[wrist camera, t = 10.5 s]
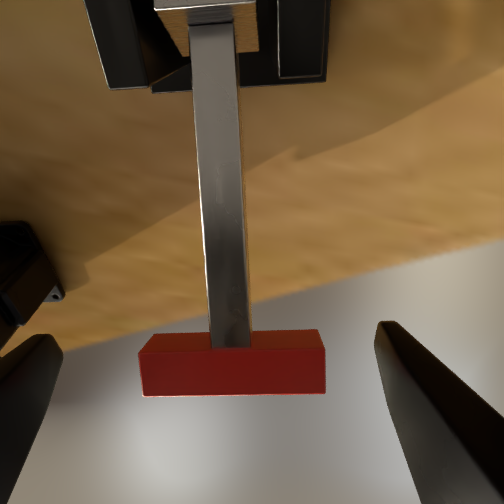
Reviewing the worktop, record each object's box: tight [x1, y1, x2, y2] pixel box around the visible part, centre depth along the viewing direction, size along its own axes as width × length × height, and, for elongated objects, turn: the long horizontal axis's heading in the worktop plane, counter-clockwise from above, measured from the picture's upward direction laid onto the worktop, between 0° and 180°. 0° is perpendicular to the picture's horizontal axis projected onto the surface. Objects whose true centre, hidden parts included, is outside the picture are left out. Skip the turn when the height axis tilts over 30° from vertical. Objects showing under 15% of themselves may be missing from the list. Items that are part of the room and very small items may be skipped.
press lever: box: [138, 0, 326, 397], centre depth 9 cm, size 12×5×2 cm, turn 4°
